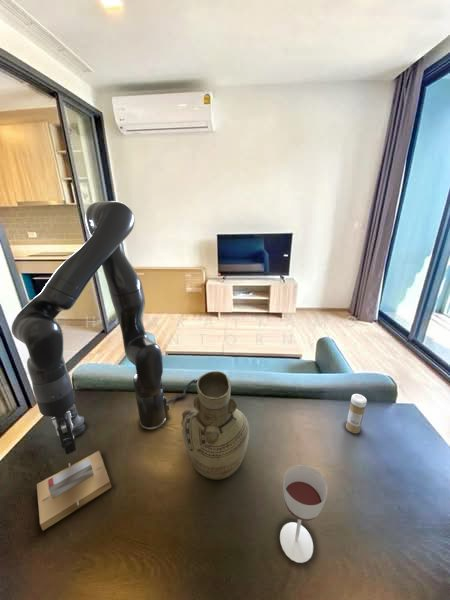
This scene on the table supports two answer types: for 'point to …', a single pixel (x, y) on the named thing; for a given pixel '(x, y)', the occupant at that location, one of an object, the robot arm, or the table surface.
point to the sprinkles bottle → (356, 413)
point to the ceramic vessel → (215, 428)
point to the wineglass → (301, 509)
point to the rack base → (71, 493)
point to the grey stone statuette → (76, 421)
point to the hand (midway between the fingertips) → (68, 440)
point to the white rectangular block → (70, 478)
